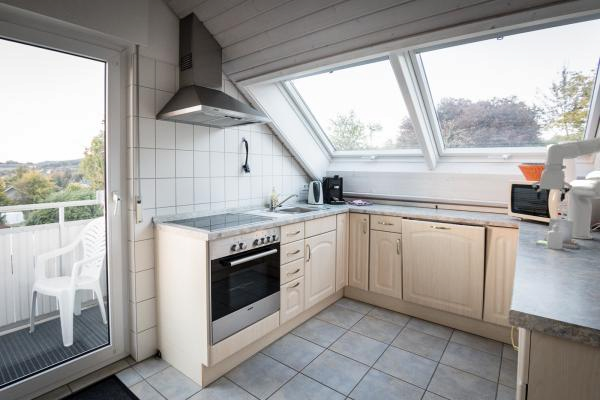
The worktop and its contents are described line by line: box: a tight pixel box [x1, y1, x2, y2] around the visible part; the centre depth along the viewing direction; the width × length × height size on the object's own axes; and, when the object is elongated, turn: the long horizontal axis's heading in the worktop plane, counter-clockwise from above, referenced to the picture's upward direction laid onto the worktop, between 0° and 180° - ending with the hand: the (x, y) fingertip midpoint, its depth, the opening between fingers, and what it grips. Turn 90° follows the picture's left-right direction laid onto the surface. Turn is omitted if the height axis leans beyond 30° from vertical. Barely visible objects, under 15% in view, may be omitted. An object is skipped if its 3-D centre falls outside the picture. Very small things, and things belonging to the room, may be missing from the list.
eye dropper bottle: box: [546, 223, 563, 250], centre depth 152 cm, size 4×6×12 cm
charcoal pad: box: [562, 243, 578, 250], centre depth 155 cm, size 7×7×1 cm
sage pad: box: [536, 239, 547, 247], centre depth 161 cm, size 7×7×1 cm
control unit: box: [543, 217, 577, 245], centre depth 165 cm, size 7×12×12 cm, turn 45°
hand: (550, 200), depth 174 cm, fingers open, 9 cm apart
